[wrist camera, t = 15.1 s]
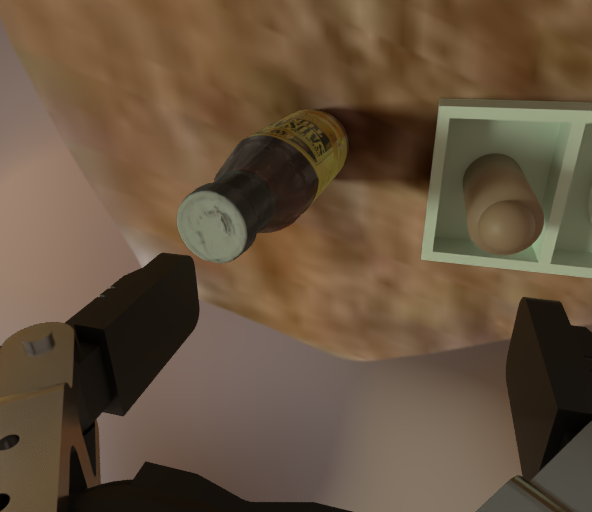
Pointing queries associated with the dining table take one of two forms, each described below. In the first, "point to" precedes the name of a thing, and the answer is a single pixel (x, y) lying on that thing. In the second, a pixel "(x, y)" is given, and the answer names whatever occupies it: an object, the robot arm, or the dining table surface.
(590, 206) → the eye dropper bottle
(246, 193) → the sauce bottle
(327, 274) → the dining table surface
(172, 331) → the robot arm
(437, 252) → the caddy
